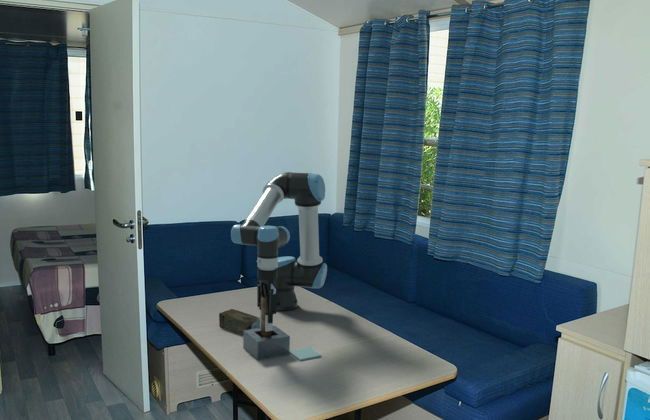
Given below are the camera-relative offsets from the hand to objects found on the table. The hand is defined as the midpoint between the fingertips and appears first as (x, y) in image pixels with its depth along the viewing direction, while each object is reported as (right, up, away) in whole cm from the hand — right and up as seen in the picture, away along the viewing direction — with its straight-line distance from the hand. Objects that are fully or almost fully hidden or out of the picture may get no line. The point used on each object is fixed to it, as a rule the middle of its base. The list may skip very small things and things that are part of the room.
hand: (266, 328), depth 224 cm
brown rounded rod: (0, -4, +1) cm, 4 cm away
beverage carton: (-13, -5, +24) cm, 28 cm away
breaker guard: (0, -9, +1) cm, 9 cm away
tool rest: (+15, -9, -1) cm, 17 cm away
